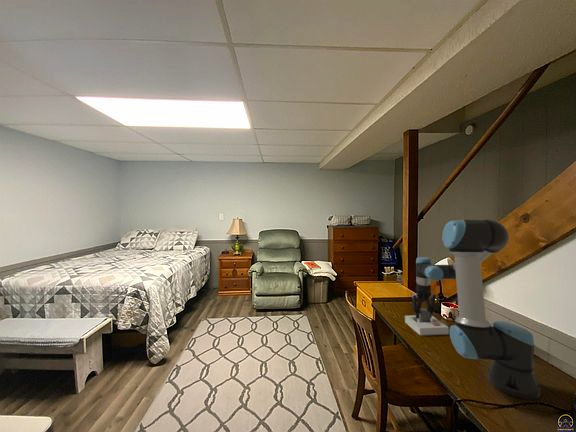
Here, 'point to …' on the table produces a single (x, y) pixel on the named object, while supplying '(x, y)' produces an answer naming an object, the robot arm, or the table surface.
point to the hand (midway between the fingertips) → (423, 323)
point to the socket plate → (427, 326)
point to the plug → (425, 315)
